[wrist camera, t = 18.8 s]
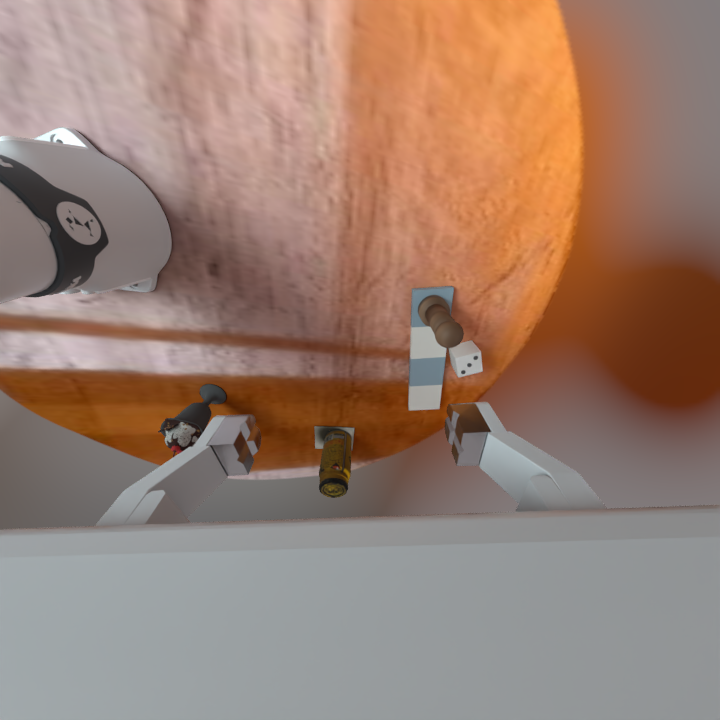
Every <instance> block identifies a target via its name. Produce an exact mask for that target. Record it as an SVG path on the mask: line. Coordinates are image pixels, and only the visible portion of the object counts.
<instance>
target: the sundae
mask: <svg viewBox="0 0 720 720" xmlns="http://www.w3.org/2000/svg"><path fill="white" fill-rule="evenodd" d="M200 395H201V397H202V398H203V399H204V401H203V403H193V404H191V405H189V406H188V407H187V408H185V409H184V410H183V411H182V412H181V413H180V414H179V415H178V416H176V417H175V418H167V419H165V421H164V422H163V423H162V425H161V430H160V431H158V432H161V433H162V434H163V435H164V436H165V438H164V440H165V442H166V445H167V446H168V447H169V448H170V449H171V450H172V451H173V452H174V454H173V458H174V455H175V452H177V453H178V454H179V453H181V452H182V451H184V450H185V449H187V448H188V447H193V446H194V445H195V443H196V442H197V440H198V439H199V438H200V436H201V435H202V433H203V432H204V430H205V428H206V426H207V424H208V422H209V420H210V417H211V410H210V408H209V407H208V406H209V404H210V403H212V404H221V403H223V402H224V401H225V400H226V394H225V392H224V391H223V390H222V389H221V388H220V387H218V386H216V385H212V384H207V385H204V386H202V387H201V388H200Z"/></svg>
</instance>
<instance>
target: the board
mask: <svg viewBox="0 0 720 720" xmlns="http://www.w3.org/2000/svg"><path fill="white" fill-rule="evenodd" d="M453 291H454V287H452V286H445V287H431V288H417V289H412V306H411V335H410V365H409V394H408V409H409V411H410V410H429V409H439V408H440V400H441V391H442V383H443V375H444V366H445V358H446V350H447V348H445V347H442V346H440V345H439V344H438V343H437V341H436V339H435V334H434V332H433V331H432V329H431V327H429V326H426V325H425V324H424V323H423V322H422V321H421V319H420V317H419V314H418V306H419V304H420V302H421V301H422V300H423V299H424V298H425V297H427V296H430V295H438V296H441V297H442V298H443V299H444V300H445V301H446V302H447V303H448V305H449V307H450V316H451V308H452V300H453Z"/></svg>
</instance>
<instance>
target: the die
mask: <svg viewBox="0 0 720 720" xmlns="http://www.w3.org/2000/svg"><path fill="white" fill-rule="evenodd" d="M448 349H449V355H450V361H451V365H452V367H453V369H454V371H455V373H456V374H457V376H458V378H459V377H463V376H467V375H471V374H475V373H479V372H483V369H482V358H481V351H480V350H479V349H478V347H477V346H476V345H475V344H474V342H473V341H472V340H470V341H467V342H463V343H460V344H459V345H457V346H455V347H453V348H448Z"/></svg>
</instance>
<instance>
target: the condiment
mask: <svg viewBox="0 0 720 720" xmlns="http://www.w3.org/2000/svg"><path fill="white" fill-rule="evenodd" d="M314 427H315V449H323V451H322V458H321V464H320V471H319V477H320V485H319V490H320V492H321V493H322V494H323V495H325V496H327V497H333V498H335V497H340V496H343V495H344V494H346V492H347V490H348V480H349V478H350V473H351V450H353V438H354V428H347V427H325V426H321V427H318V426H314Z"/></svg>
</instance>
